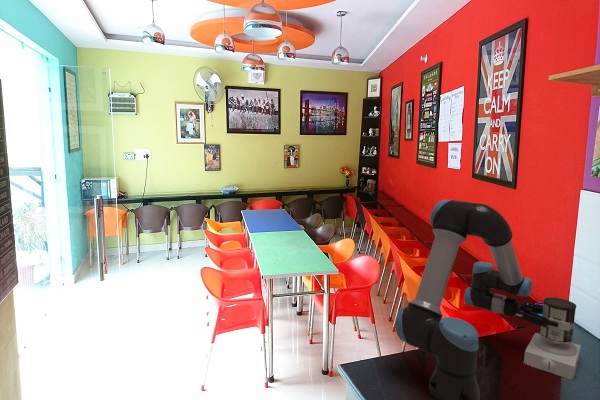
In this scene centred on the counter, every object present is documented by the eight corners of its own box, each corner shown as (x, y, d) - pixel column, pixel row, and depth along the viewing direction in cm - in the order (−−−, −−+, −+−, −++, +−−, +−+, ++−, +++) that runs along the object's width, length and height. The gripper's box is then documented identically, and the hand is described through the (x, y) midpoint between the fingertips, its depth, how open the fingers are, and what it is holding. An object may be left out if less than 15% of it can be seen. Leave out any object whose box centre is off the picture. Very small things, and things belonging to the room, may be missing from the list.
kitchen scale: (523, 364, 141) (524, 349, 140) (534, 344, 156) (535, 330, 155) (572, 381, 131) (574, 365, 130) (579, 357, 146) (581, 343, 146)
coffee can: (564, 332, 149) (568, 298, 147) (577, 346, 139) (582, 309, 137) (535, 329, 151) (538, 295, 149) (546, 342, 141) (550, 306, 139)
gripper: (511, 306, 164) (573, 322, 150) (496, 323, 147) (566, 343, 133) (512, 289, 163) (576, 303, 149) (498, 304, 146) (568, 322, 132)
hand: (571, 322), depth 141 cm, fingers closed on coffee can, 10 cm apart
